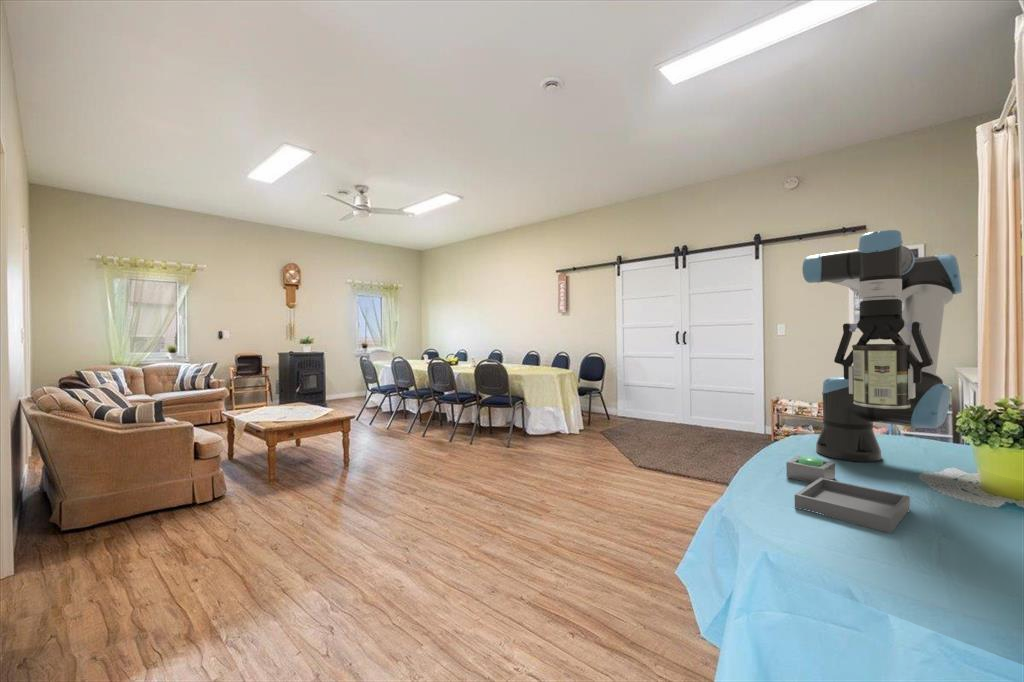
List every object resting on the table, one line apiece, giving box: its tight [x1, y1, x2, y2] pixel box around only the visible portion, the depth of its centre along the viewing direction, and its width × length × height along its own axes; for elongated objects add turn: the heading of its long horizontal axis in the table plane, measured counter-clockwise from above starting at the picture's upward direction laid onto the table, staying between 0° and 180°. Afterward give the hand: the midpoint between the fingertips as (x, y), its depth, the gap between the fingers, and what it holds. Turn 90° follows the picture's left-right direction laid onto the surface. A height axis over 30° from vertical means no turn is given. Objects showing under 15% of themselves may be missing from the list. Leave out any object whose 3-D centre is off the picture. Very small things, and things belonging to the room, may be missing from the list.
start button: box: [799, 455, 824, 467], centre depth 110 cm, size 5×5×4 cm
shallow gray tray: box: [794, 478, 911, 534], centre depth 91 cm, size 16×16×3 cm
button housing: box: [785, 455, 836, 484], centre depth 110 cm, size 8×8×4 cm
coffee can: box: [851, 343, 911, 409], centre depth 101 cm, size 10×10×14 cm
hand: (880, 395), depth 101 cm, fingers closed on coffee can, 10 cm apart
